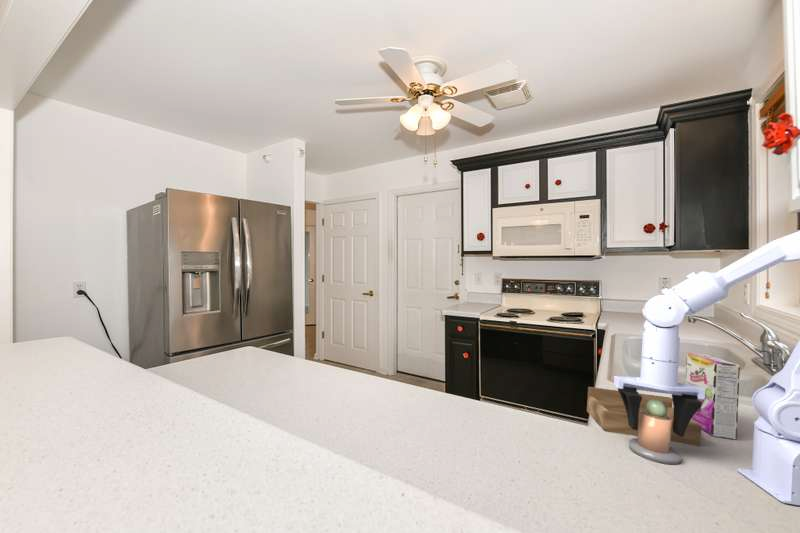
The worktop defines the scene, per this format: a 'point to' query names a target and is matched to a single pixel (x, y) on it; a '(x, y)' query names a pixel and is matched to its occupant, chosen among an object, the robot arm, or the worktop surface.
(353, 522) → the worktop surface
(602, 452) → the worktop surface
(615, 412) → the tray
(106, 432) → the worktop surface
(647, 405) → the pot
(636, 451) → the saucer
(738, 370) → the candy bar box
